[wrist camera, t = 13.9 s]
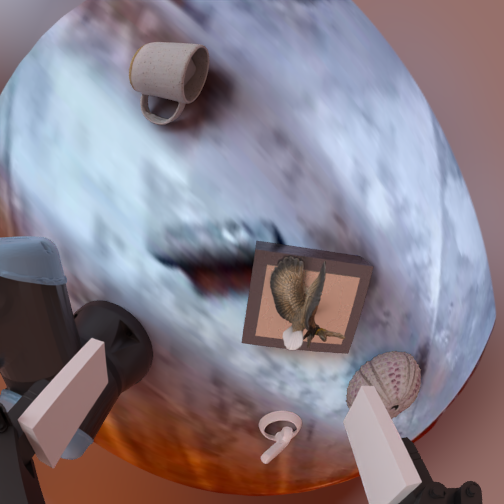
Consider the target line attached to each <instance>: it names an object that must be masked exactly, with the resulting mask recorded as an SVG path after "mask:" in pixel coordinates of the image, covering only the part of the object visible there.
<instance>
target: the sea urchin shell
mask: <svg viewBox="0 0 504 504" xmlns="http://www.w3.org/2000/svg"><path fill="white" fill-rule="evenodd" d="M420 371H421V369H420V368H419V365H418V364H417V363H416V361H415V360H414V359H413V356H411V354H408V353H407V354H406V353H405V352H403V353H402V352H397V351H394V352H393V351H392V352H386V353H383V354H378V356H377V357H374V358H373V359H372V360H371V361H367V362H366V364H365V365H362V366H361V368H360V370H359V371H356V373H355V375H353V378H352V380H351V381H350V382H349V386H348V388H347V395H346V396H347V400H346V402H347V406H348V407H349V408H351V406H352V404H353V402H354V400H355V398H356V396H357V394H358V392H359V390H360V388H361V386H374V387H375V389H376V391H377V393H378V394H379V396H380V398H381V400H382V402H383V404H384V406H385V408H386V410H387V412H388V414H389V416H390V417H391V419H392V418H393V417H396V416H397V415H398V414H399V413H401V412H402V411H404V410H405V409H406V408H408V407H410V405H411V404H412V403H413V402H414V401H415V399H416V397H417V395H418V392H419V389H420V384H421V383H420V381H421V380H420V378H421V376H420Z"/></svg>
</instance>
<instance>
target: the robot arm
mask: <svg viewBox="0 0 504 504" xmlns="http://www.w3.org/2000/svg"><path fill="white" fill-rule="evenodd" d="M66 283H67V278H66V276H65V275H64V272H63V268H62V264H61V260H60V255H59V251H58V248H57V246H56V245H55V244H54V243H53V242H52V241H51V240H49V239H47V238H44V237H4V238H0V373H1V375H2V377H3V379H4V381H5V383H6V386H7V388H6V389H3V390H2V392H1V395H0V504H45V501H44V498H43V495H42V491H41V488H40V485H39V481H38V477H37V474H36V470H35V466H34V462H33V459H32V457H33V455H34V454H36V455H37V457H38V459H39V460H40V461H41V462H43V463H45V464H47V465H49V466H50V467H52V468H54V467H55V465H56V463H57V462H58V460H59V458H60V457H61V458H64V459H71V460H73V459H77V458H79V457H81V456H82V455H83V453H84V452H85V450H86V449H87V448H88V446H89V445H90V444H92V443H93V439H94V438H95V436H96V434H97V432H98V431H99V429H100V427H101V426H102V424H103V422H104V420H105V419H106V417H107V415H108V414H109V412H110V410H111V408H112V407H113V405H114V403H115V402H116V400H117V398H118V397H119V395H120V394H121V393H122V392H124V391H125V390H127V389H128V388H130V387H131V386H132V385H134V384H136V383H138V382H139V381H141V380H142V379H143V378H144V376H145V375H146V373H147V371H148V370H149V368H150V366H151V363H152V358H153V352H152V346H151V343H150V340H149V337H148V335H147V333H146V332H145V330H144V328H143V327H142V326H141V324H140V323H139V322H138V321H137V320H136V319H135V318H134V317H133V316H132V315H131V314H130V313H129V312H127V311H126V310H125V309H123V308H121V307H120V306H118V305H116V304H113V303H110V302H106V301H92V302H89V303H87V304H85V305H84V306H82V307H81V308H80V309H78V310H77V311H76V312H75V313H74V315H73V312H72V308H71V304H70V300H69V296H68V291H67V287H66ZM343 423H344V426H345V429H346V432H347V435H348V438H349V441H350V444H351V447H352V450H353V453H354V457H355V460H356V463H357V466H358V469H359V472H360V476H361V479H362V482H363V485H364V489H365V492H366V495H367V499H368V502H369V504H482V493H481V488H480V486H479V485H478V484H477V483H475V482H473V481H467V482H466V483H464V484H463V485H462V486H461V487H460V488H446V487H445V486H444V485H443V484H441V483H439V482H433V480H432V478H431V476H430V474H429V472H428V470H427V468H426V466H425V464H424V462H423V460H422V459H421V456H420V455H419V453H418V451H417V449H416V447H415V445H414V443H413V442H411V441H410V440H409V439H408V438H407V437H406V438H401V437H400V435H399V433H398V431H397V429H396V427H395V425H394V423H393V421H392V419H391V417H390V416H389V414H388V412H387V410H386V408H385V406H384V404H383V402H382V400H381V398H380V396H379V394H378V393H377V391H376V389H375V387H374V386H361V388H360V390H359V392H358V394H357V396H356V398H355V400H354V402H353V404H352V406H351V408H350V410H349V412H348V413H347V415H346V417H345V419H344V421H343Z"/></svg>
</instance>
